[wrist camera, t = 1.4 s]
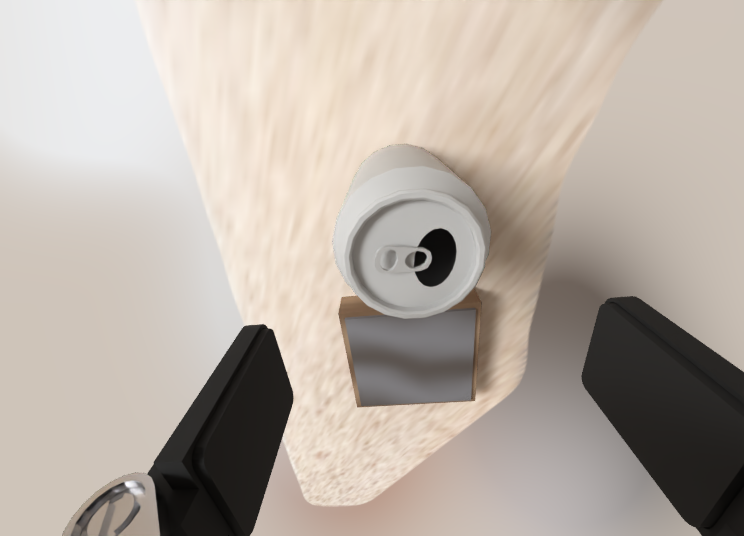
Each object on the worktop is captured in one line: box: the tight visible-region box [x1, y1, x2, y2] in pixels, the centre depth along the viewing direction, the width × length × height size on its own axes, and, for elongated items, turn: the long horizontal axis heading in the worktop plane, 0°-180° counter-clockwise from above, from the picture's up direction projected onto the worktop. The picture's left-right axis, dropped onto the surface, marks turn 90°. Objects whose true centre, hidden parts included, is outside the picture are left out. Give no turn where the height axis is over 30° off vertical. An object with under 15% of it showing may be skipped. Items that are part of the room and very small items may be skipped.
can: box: [332, 144, 491, 319], centre depth 18 cm, size 8×8×12 cm
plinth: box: [338, 288, 481, 407], centre depth 29 cm, size 12×12×3 cm
